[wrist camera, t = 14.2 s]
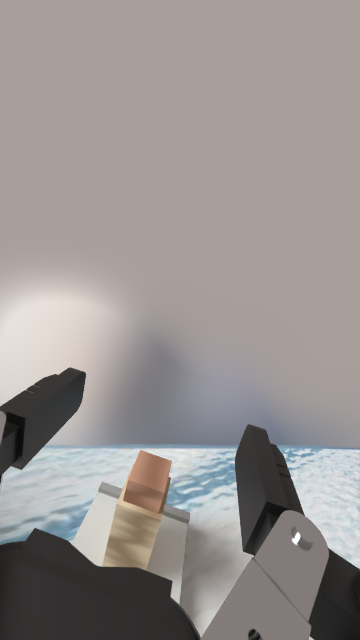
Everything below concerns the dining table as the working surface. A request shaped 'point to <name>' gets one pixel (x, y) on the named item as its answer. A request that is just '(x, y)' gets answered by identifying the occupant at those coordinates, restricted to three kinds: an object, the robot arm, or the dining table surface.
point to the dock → (166, 547)
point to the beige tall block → (138, 513)
